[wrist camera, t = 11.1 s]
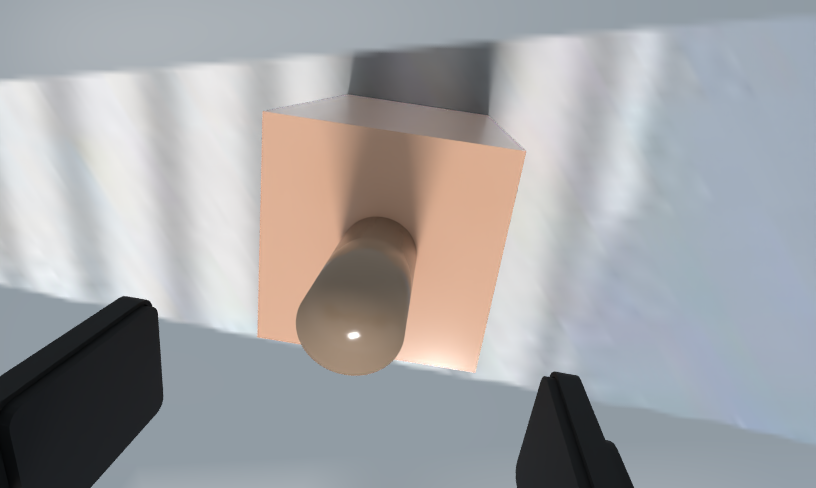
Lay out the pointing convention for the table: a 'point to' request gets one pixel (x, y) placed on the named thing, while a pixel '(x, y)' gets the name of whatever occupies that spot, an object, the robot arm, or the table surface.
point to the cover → (382, 230)
